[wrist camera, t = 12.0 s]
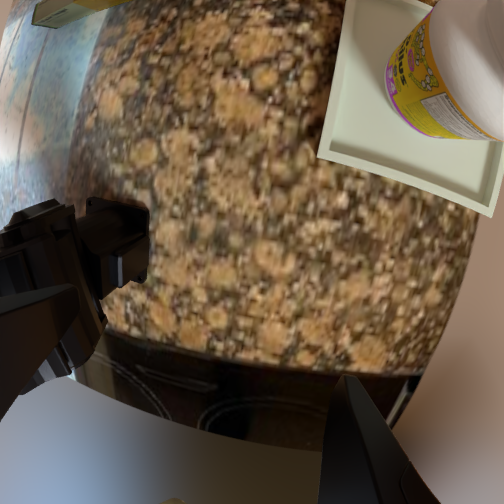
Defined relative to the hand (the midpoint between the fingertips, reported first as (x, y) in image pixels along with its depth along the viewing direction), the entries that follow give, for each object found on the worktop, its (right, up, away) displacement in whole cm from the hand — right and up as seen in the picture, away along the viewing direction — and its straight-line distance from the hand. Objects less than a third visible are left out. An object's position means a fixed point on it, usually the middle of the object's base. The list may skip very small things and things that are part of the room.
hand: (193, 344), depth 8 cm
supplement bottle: (+13, +13, +6) cm, 19 cm away
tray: (+13, +13, +6) cm, 20 cm away
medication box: (-12, +25, +8) cm, 29 cm away
